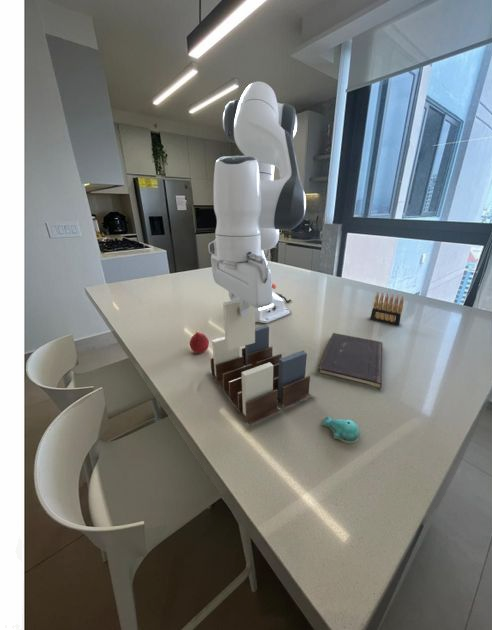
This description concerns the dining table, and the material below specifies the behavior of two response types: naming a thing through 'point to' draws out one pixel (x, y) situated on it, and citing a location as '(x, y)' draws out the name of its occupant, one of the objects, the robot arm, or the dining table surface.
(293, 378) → the grey book
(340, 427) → the whale figurine
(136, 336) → the dining table surface
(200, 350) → the onion
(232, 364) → the book rack
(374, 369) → the hardcover book
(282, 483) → the dining table surface
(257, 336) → the grey book
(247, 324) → the cream book
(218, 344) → the cream book
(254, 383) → the cream book
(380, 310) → the ammunition clip
